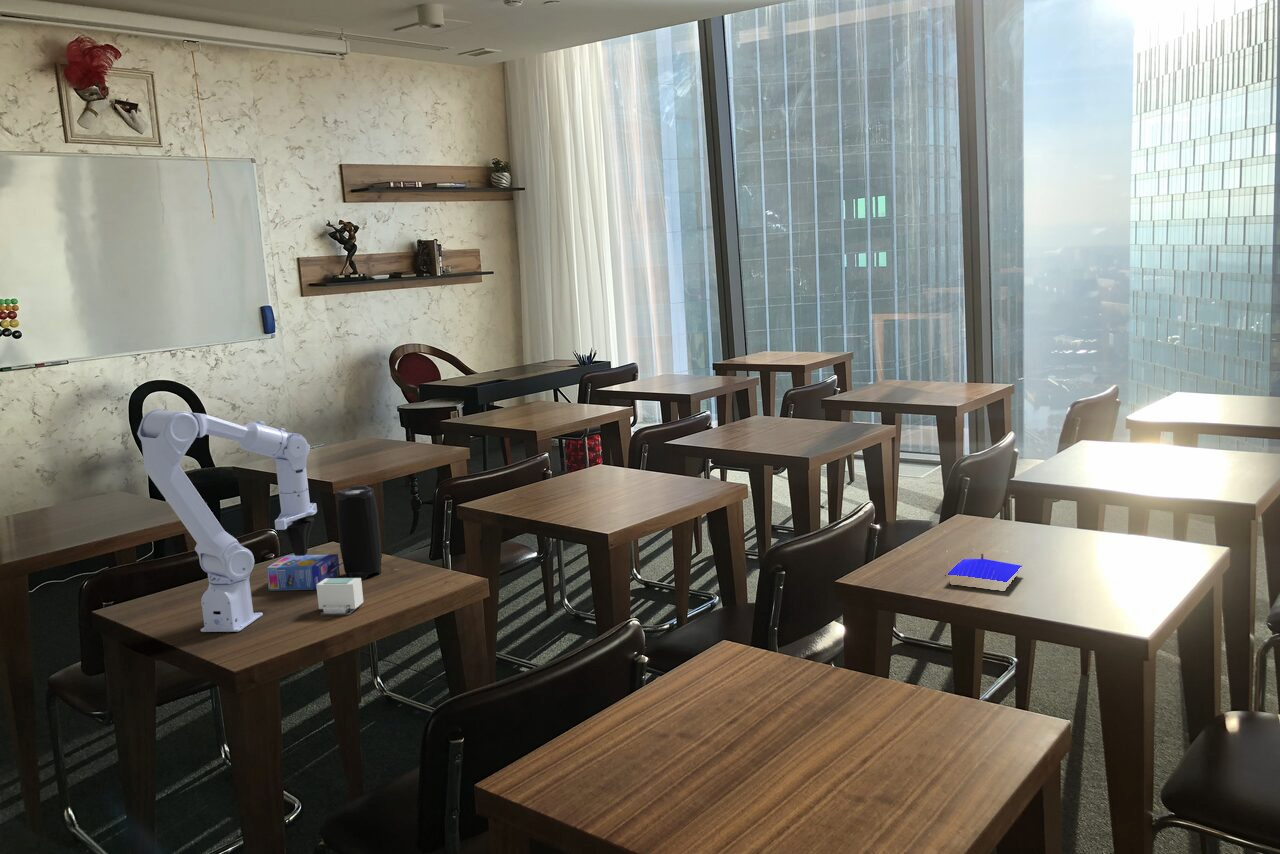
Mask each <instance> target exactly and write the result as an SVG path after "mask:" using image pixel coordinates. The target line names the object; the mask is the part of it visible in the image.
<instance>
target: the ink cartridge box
mask: <svg viewBox="0 0 1280 854" xmlns="http://www.w3.org/2000/svg"><path fill="white" fill-rule="evenodd" d="M339 560H340V559H339V554H338V553H336V554H330V553H329V554H306V555H304V556H295V554H293V555H292V554H291V555H290V554H289V555H288V554H287V555H284V556H283V557H281V558H280V559H278V560H277V561H275V562H273V563H271V564H270V565H269V566H267V567H266V576H267V584H268V585H267V589H268V591H269V592H272V591H301V590H302V591H303V590H306V591H307V590H317V587H316V585H317V584H318V583H320V582H321V581H322V580H324V579H326V578H340V576H341V575H340V566H341V565H342V564H343V561H342V562H341V563H340V562H339Z"/></svg>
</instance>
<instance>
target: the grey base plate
mask: <svg viewBox="0 0 1280 854" xmlns="http://www.w3.org/2000/svg"><path fill="white" fill-rule="evenodd" d="M363 604H364V602H363V603H362V604H360V605H359V606H358V607H357V608H356V609H351V608H350V605H326V606H325V607H323V609H322V610H323V611H321V612H320V613H319V616H320V617H321V616H350V615H351V614H353V613H354V611H356V610H357V609H358V608H359V607H360V606H362V605H363Z"/></svg>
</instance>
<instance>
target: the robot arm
mask: <svg viewBox="0 0 1280 854" xmlns="http://www.w3.org/2000/svg"><path fill="white" fill-rule="evenodd" d="M136 434H137V437H138V438H139V440H140V441H141V448H142V457H143V467H144V470H145V472H146V474H147V475H148V477H149V478H150V479H151V481H152V483H154V485H155V487H156V488H157V489H158V491H159V492H160V494H161V495H162V496H163V497H164V499H165V500H166V503H168V505H169V506H170V508H171V509H172V510H173V512H174V513H175V515H176V516H177V517H178V519H179V520H180V521H181V523H182V524H183V525H184V527H185V528H186V530H187V531H188V533H189V534H190V536H191V537H192V538H193V540H194V541H195V542H196V545H195V547H194V551H195V552H196V553H197V555H198V557H199V558H198V559H199V565H200V567H201V569H202V570H203V572H205V573H207V578H208V587H207V590H205V592H204V593H203V595H202V596H201V600H200V603H201V604H200V605H201V610H202V619H203V626H204V627H202V628H200V632H202V633H212V632H213V633H217V632H219V633H221V632H222V633H224V632H225V633H231V632H240V631H242V630H244V629H245V628H246V627H248V626H249V625H250V624H252V623H253V622H255V621H257V620H258V619H259V618H261V617H262V616H263V615H264V614H263V612H254V608H253V607H254V606H253V598H252V589H251V583H250V578H251V577H250V576H251V575H250V574H251V573H252V571H253V569H254V566H255V558H254V554H253V552H252V551H251V550H250V549H248V548H246V547H244V546H243V545H242V544H241V543H240V542H239V541H238V539H236V538H235V537H234V536H233V535H231V534H230V533H229V532H227V531H225V529H224V528H223V526H222V525H221V523H220V522H219V521H218V519H217V518H216V516H215V515H214V513H213V512H212V511H211V509H210V507H209V506H208V505H207V503H206V501H205V500H204V499H203V498H202V496H201V495H200V493H199V491H198V490H197V488H196V487H195V485H193V483H192V481H191V480H190V478H189V477H188V476H187V474H186V473H185V471H184V470H183V469H182V467H181V463H182V461H183V460H182V459H183V458H184V456H185V455H186V453H187V451H188V450H189V449H190V448H191V445H192V444H193V443H194V442H195V440H196V438H200V439H201V438H203V437H204V436H206V435H207V436H213V437H217V438H222V439H226V440H229V441H234V442H237V443H238V444H239V446H240V448H241V449H242V450H243V451H247V452H249V453H254V454H259V455H263V456H265V457H271V458H272V459H273V460H274V461H275V466H276V467H275V468H276V477H277V485H278V495H279V504H280V513H279V515H278V517H277V518H276V519H275V520H274V527H275V531H277V530H278V531H279V530H280V531H282V532H283V534H284V535H285V536H286V538H287V539H288V541H289V544H290V547H291V549H292V551H293V555H295V556H304V555H308V548H309V541H310V536H311V532H312V529H313V527H314V524H315V517H309V516H314V515H316V514H317V512H318V507H317V502H316V503H315V502H310V501H311V500H310V493H309V491H310V490H309V482H308V472H307V466H308V464H307V462H308V461H307V458H308V456H309V454H310V451H311V444H309V443H308V441H307V439H306V437H305V436H303V435H302V434H301V433H296V432H295V433H294V432H287V431H286V428H283V427H277V428H275V427H272V426H268V425H266V422H265V421H261V420H255V422H254V421H249V422H248V423H246V424H244V425H242V424H238V423H234V422H231V421H228V420H224V419H221V418H218V417H216V416H212V415H209V414H206V413H199V412H188V411H186V410H179V411H173V410H165V409H159V408H155V409H152V410H149V411H147V413H145V414H144V416H143V417H142V418H141V421H140V424H139V427H138V430H137V432H136Z"/></svg>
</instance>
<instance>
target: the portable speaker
mask: <svg viewBox="0 0 1280 854" xmlns="http://www.w3.org/2000/svg"><path fill="white" fill-rule="evenodd" d="M336 493H337V505H336V506H337V509H336V511H337V512H336V513H337V514H336V516H337V517H336V519H337V527H338V528H337V529H338V539H339V548H340V549H339V550H340V554H341V557H340V558H341V559H342V562H343V569H344V573H345V574H346V575H347V576H348V577H347V578H361V580H366V579H367V577H369V575H373V574H375V573H376V574H378V575H380V574H382V558H383V554H382V550H383V549H382V541H381V530H380V529H381V528H380V519H379V518H380V517H379V510H378V505H377V499H376V494H375V490H374V488H372V487H370V486H367V485H365V484H364V485H360V484H359V485H354V486H353V485H352V486H350V487H348V488H346V489H343V490H341V489H339V490H337V492H336Z"/></svg>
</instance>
